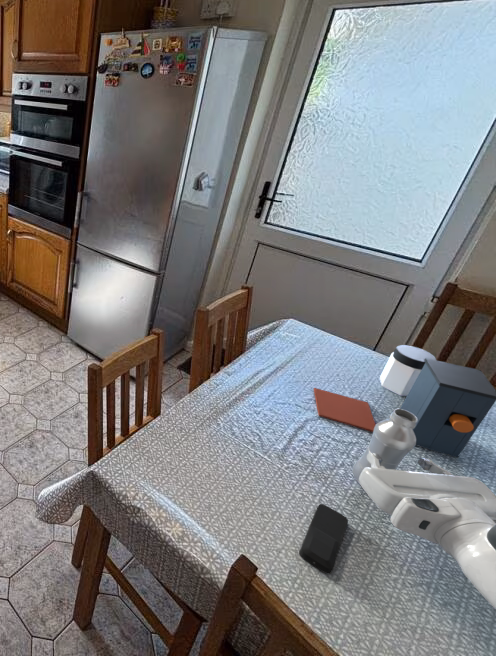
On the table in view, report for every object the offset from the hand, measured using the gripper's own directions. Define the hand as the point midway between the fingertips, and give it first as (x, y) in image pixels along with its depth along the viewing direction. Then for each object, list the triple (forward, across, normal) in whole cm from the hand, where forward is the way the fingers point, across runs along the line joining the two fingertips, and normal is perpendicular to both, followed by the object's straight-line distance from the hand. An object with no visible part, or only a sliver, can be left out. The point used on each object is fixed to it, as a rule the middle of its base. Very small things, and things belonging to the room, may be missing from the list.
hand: (396, 457), depth 85 cm
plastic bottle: (+2, 0, +11) cm, 11 cm away
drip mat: (+26, -9, +11) cm, 29 cm away
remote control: (-12, +17, +11) cm, 24 cm away
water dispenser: (+19, -23, +11) cm, 32 cm away
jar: (+38, -30, +11) cm, 49 cm away
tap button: (+13, -22, +2) cm, 26 cm away
